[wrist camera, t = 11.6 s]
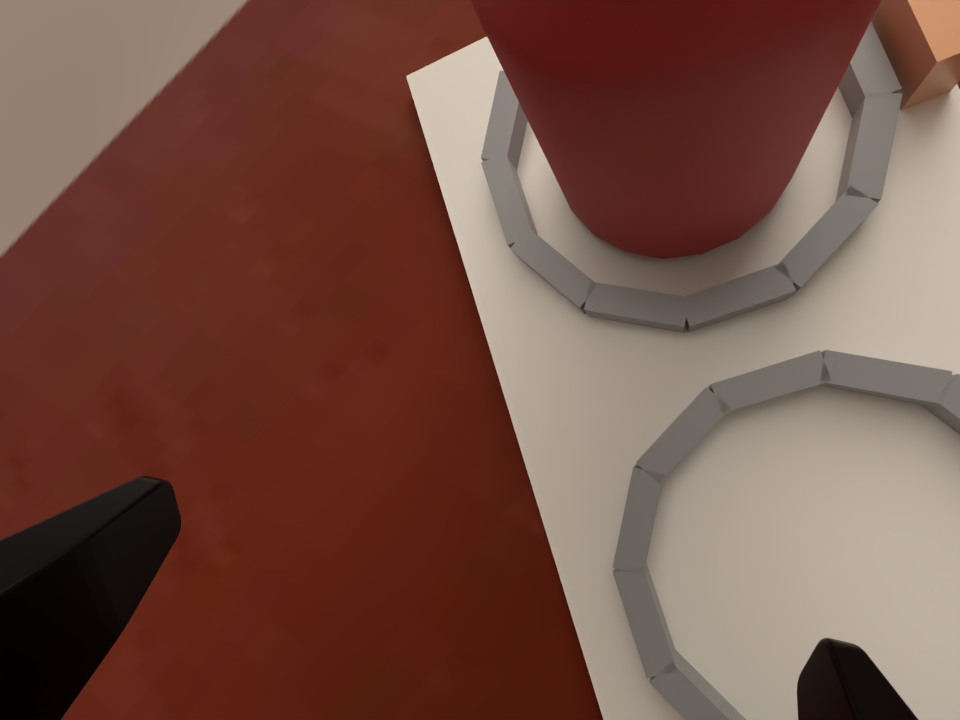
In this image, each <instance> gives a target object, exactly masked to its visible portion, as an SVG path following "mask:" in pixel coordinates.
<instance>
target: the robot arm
mask: <svg viewBox="0 0 960 720" xmlns="http://www.w3.org/2000/svg"><path fill="white" fill-rule="evenodd" d="M180 527H181V517H180V513H179V509H178V506H177V502H176V498H175V494H174V490H173V487H172V485H171V484H170V483H169V482H168V481H166V480H162V479H158V478H154V477H149V476H141V477H137V478H135V479H133V480H130V481H128V482H126V483H124V484H122V485H119V486H117V487H115V488H113V489H111V490H109V491H106V492H104V493H102V494H100V495H98V496H96V497H93V498H91V499H89V500H87V501H85V502H83V503H80V504H78V505H76V506H74V507H72V508H69V509H67V510H65V511H63V512H61V513H59V514H56V515H54V516H52V517H50V518H48V519H46V520H43V521H41V522H39V523H37V524H35V525H32V526H30V527H28V528H26V529H24V530H22V531H19V532H17V533H15V534H13V535H11V536H9V537H6V538H4V539H2V540H0V720H61V718H62V717H63V716H64V714H65V713H66V711H67V710H68V709H69V707H70V706H71V704H72V703H73V701H74V700H75V699H76V697H77V696H78V694H79V693H80V692H81V690H82V689H83V687H84V686H85V684H86V683H87V682H88V680H89V679H90V677H91V676H92V675H93V673H94V672H95V670H96V669H97V668H98V666H99V665H100V663H101V662H102V660H103V659H104V658H105V656H106V655H107V653H108V652H109V651H110V649H111V648H112V646H113V645H114V643H115V642H116V640H117V639H118V637H119V636H120V634H121V633H122V631H123V630H124V628H125V627H126V625H127V623H128V622H129V620H130V618H131V617H132V615H133V613H134V612H135V610H136V608H137V607H138V605H139V603H140V601H141V600H142V598H143V596H144V594H145V593H146V591H147V589H148V587H149V586H150V584H151V582H152V580H153V579H154V577H155V575H156V573H157V572H158V570H159V568H160V566H161V565H162V563H163V561H164V559H165V558H166V556H167V554H168V553H169V551H170V549H171V547H172V546H173V544H174V542H175V540H176V539H177V536H178V534H179V531H180ZM797 706H798V720H918V718H917V717H916V716H915V714H914V713H913V712H912V711H911V709H910V708H909V707H908V705H907V704H906V703H905V702H904V700H903V699H902V698H901V697H900V695H899V694H898V693H897V691H896V690H895V689H894V688H893V686H892V685H891V684H890V683H889V681H888V680H887V679H886V677H885V676H884V675H883V674H882V672H881V671H880V670H879V668H878V667H877V666H876V665H875V663H874V662H873V661H872V660H871V658H870V657H869V656H868V654H867V653H866V652H865V651H864V650H863V649H862V648H861V647H859V646H858V645H855V644H853V643H849V642H845V641H840V640H836V639H832V638H823V639H821V640H820V641H819V642H818V644H817V645H816V647H815V649H814V650H813V652H812V654H811V656H810V657H809V659H808V661H807V663H806V664H805V666H804V668H803V669H802V671H801V673H800V675H799V679H798V683H797Z"/></svg>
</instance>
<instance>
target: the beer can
mask: <svg viewBox="0 0 960 720" xmlns="http://www.w3.org/2000/svg"><path fill="white" fill-rule="evenodd" d="M471 1H472V3H473V6H474V8H475V10H476V13H477V15H478V18H479V20H480V22H481V25H482V27H483V29H484V31H485V33H486V35H487V37H488V39H489V41H490V43H491V45H492V48H493V50H494V52H495V54H496V56H497V58H498V60H499V62H500V64H501V66H502V68H503V70H504V72H505V74H506V76H507V78H508V81H509V83H510V85H511V87H512V89H513V91H514V93H515V95H516V97H517V99H518V101H519V103H520V105H521V107H522V109H523V112H524V114H525V116H526V118H527V120H528V122H529V124H530V126H531V128H532V130H533V132H534V134H535V136H536V138H537V140H538V142H539V145H540V147H541V149H542V151H543V153H544V155H545V157H546V159H547V161H548V163H549V165H550V167H551V169H552V171H553V173H554V175H555V178H556V180H557V182H558V184H559V186H560V188H561V190H562V192H563V194H564V196H565V198H566V200H567V202H568V204H569V206H570V209H571V211H572V212H573V213H574V214H575V215H576V216H577V217H578V218H579V219H580V220H581V221H582V223H583V224H584V225H585V226H586V227H587V228H588V229H589V230H590V231H591V232H592V233H593V235H594V236H596V237H598V238H600V239H602V240H604V241H605V242H607V243H609V244H611V245H613V246H615V247H617V248H618V249H620V250H622V251H624V252H627V253H632V254H638V255H643V256H649V257H654V258H660V259H666V258H675V257H683V256H691V255H699V254H703V253H706V252H708V251H710V250H713V249H715V248H717V247H720V246H722V245H724V244H726V243H729V242H731V241H733V240H736V239H738V238H740V237H741V236H742V235H743V234H744V233H746V232H747V231H748V230H749V229H750V228H752V227H753V226H754V225H755V224H756V223H758V222H759V221H760V220H761V219H762V218H764V217H765V216H766V215H767V214H768V213H770V212H771V210H772V208H773V207H774V205H775V204H776V202H777V201H778V199H779V198H780V196H781V194H782V193H783V191H784V190H785V188H786V187H787V185H788V184H789V182H790V180H791V179H792V177H793V175H794V173H795V171H796V169H797V167H798V165H799V163H800V161H801V159H802V157H803V155H804V153H805V151H806V149H807V147H808V145H809V143H810V141H811V139H812V137H813V135H814V133H815V131H816V129H817V127H818V125H819V123H820V121H821V119H822V117H823V115H824V113H825V111H826V109H827V107H828V105H829V103H830V101H831V99H832V97H833V95H834V93H835V91H836V89H837V87H838V85H839V83H840V81H841V79H842V77H843V75H844V73H845V71H846V69H847V67H848V65H849V63H850V61H851V59H852V57H853V56H854V54H855V52H856V50H857V48H858V46H859V44H860V42H861V40H862V38H863V36H864V34H865V32H866V30H867V28H868V26H869V24H870V22H871V20H872V18H873V16H874V14H875V12H876V10H877V8H878V6H879V4H880V2H881V0H471Z"/></svg>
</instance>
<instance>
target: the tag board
mask: <svg viewBox="0 0 960 720" xmlns="http://www.w3.org/2000/svg"><path fill="white" fill-rule="evenodd" d="M406 77H407V80H408V84H409V87H410V90H411V93H412V97H413V100H414V103H415V106H416V110H417V113H418V116H419V119H420V123H421V126H422V129H423V133H424V136H425V139H426V142H427V146H428V149H429V152H430V155H431V159H432V162H433V165H434V168H435V172H436V175H437V178H438V182H439V185H440V188H441V191H442V195H443V198H444V201H445V204H446V208H447V211H448V214H449V217H450V221H451V224H452V227H453V230H454V234H455V237H456V240H457V244H458V247H459V250H460V253H461V257H462V260H463V263H464V266H465V270H466V273H467V276H468V279H469V283H470V286H471V289H472V292H473V296H474V299H475V302H476V306H477V309H478V312H479V315H480V319H481V322H482V325H483V328H484V332H485V335H486V338H487V341H488V345H489V348H490V351H491V354H492V358H493V361H494V364H495V368H496V371H497V374H498V377H499V381H500V384H501V387H502V390H503V394H504V397H505V400H506V403H507V407H508V410H509V413H510V416H511V420H512V423H513V426H514V430H515V433H516V436H517V439H518V443H519V446H520V449H521V452H522V456H523V459H524V462H525V465H526V469H527V472H528V475H529V479H530V482H531V485H532V488H533V492H534V495H535V498H536V501H537V505H538V508H539V511H540V514H541V518H542V521H543V524H544V527H545V531H546V534H547V537H548V541H549V544H550V547H551V550H552V554H553V557H554V560H555V563H556V567H557V570H558V573H559V576H560V580H561V583H562V586H563V589H564V593H565V596H566V599H567V603H568V606H569V609H570V612H571V616H572V619H573V622H574V625H575V629H576V632H577V635H578V638H579V642H580V645H581V648H582V651H583V655H584V658H585V661H586V665H587V668H588V671H589V674H590V678H591V681H592V684H593V687H594V691H595V694H596V697H597V700H598V704H599V707H600V710H601V713H602V717H603V720H798V706H797V683H798V679H799V675H800V673H801V671H802V669H803V668H804V666H805V664H806V663H807V661H808V659H809V657H810V656H811V654H812V652H813V650H814V649H815V647H816V645H817V644H818V642H819V641H820V640H821V639H823V638H832V639H836V640H840V641H845V642H849V643H853V644H855V645H858V646H859V647H861V648H862V649H863V650H864V651H865V652H866V653H867V654H868V656H869V657H870V658H871V660H872V661H873V662H874V663H875V665H876V666H877V667H878V668H879V670H880V671H881V672H882V674H883V675H884V676H885V677H886V679H887V680H888V681H889V683H890V684H891V685H892V686H893V688H894V689H895V690H896V691H897V693H898V694H899V695H900V697H901V698H902V699H903V700H904V702H905V703H906V704H907V705H908V707H909V708H910V709H911V711H912V712H913V713H914V714H915V716H916V717H917V718H918V720H960V89H959V87H958V85H957V83H958V82H959V81H960V0H881V2H880V4H879V6H878V8H877V10H876V12H875V14H874V16H873V18H872V20H871V22H870V24H869V26H868V28H867V30H866V32H865V34H864V36H863V38H862V40H861V42H860V44H859V46H858V48H857V50H856V52H855V54H854V56H853V57H852V59H851V61H850V63H849V65H848V67H847V69H846V71H845V73H844V75H843V77H842V79H841V81H840V83H839V85H838V87H837V89H836V91H835V93H834V95H833V97H832V99H831V101H830V103H829V105H828V107H827V109H826V111H825V113H824V115H823V117H822V119H821V121H820V123H819V125H818V127H817V129H816V131H815V133H814V135H813V137H812V139H811V141H810V143H809V145H808V147H807V149H806V151H805V153H804V155H803V157H802V159H801V161H800V163H799V165H798V167H797V169H796V171H795V173H794V175H793V177H792V179H791V180H790V182H789V184H788V185H787V187H786V188H785V190H784V191H783V193H782V194H781V196H780V198H779V199H778V201H777V202H776V204H775V205H774V207H773V208H772V210H771V212H770V213H768V214H767V215H766V216H765V217H764V218H762V219H761V220H760V221H759V222H758V223H756V224H755V225H754V226H753V227H752V228H750V229H749V230H748V231H747V232H746V233H744V234H743V235H742V236H741V237H740V238H738V239H736V240H733V241H731V242H729V243H726V244H724V245H722V246H720V247H717V248H715V249H713V250H710V251H708V252H706V253H703V254H699V255H691V256H683V257H675V258H666V259H660V258H654V257H649V256H643V255H638V254H632V253H627V252H624V251H622V250H620V249H618V248H617V247H615V246H613V245H611V244H609V243H607V242H605V241H604V240H602V239H600V238H598V237H596V236H594V235H593V233H592V232H591V231H590V230H589V229H588V228H587V227H586V226H585V225H584V224H583V223H582V221H581V220H580V219H579V218H578V217H577V216H576V215H575V214H574V213H573V212H572V211H571V209H570V206H569V204H568V202H567V200H566V198H565V196H564V194H563V192H562V190H561V188H560V186H559V184H558V182H557V180H556V178H555V175H554V173H553V171H552V169H551V167H550V165H549V163H548V161H547V159H546V157H545V155H544V153H543V151H542V149H541V147H540V145H539V142H538V140H537V138H536V136H535V134H534V132H533V130H532V128H531V126H530V124H529V122H528V120H527V118H526V116H525V114H524V112H523V109H522V107H521V105H520V103H519V101H518V99H517V97H516V95H515V93H514V91H513V89H512V87H511V85H510V83H509V81H508V78H507V76H506V74H505V72H504V70H503V68H502V66H501V64H500V62H499V60H498V58H497V56H496V54H495V52H494V50H493V48H492V45H491V43H490V41H489V39H488V37H485V38H483V39H481V40H479V41H477V42H475V43H473V44H471V45H469V46H467V47H465V48H463V49H460V50H458V51H456V52H454V53H452V54H450V55H448V56H446V57H444V58H442V59H440V60H438V61H436V62H434V63H432V64H430V65H428V66H426V67H424V68H422V69H420V70H418V71H416V72H414V73H412V74H410V75H408V76H406Z"/></svg>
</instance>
